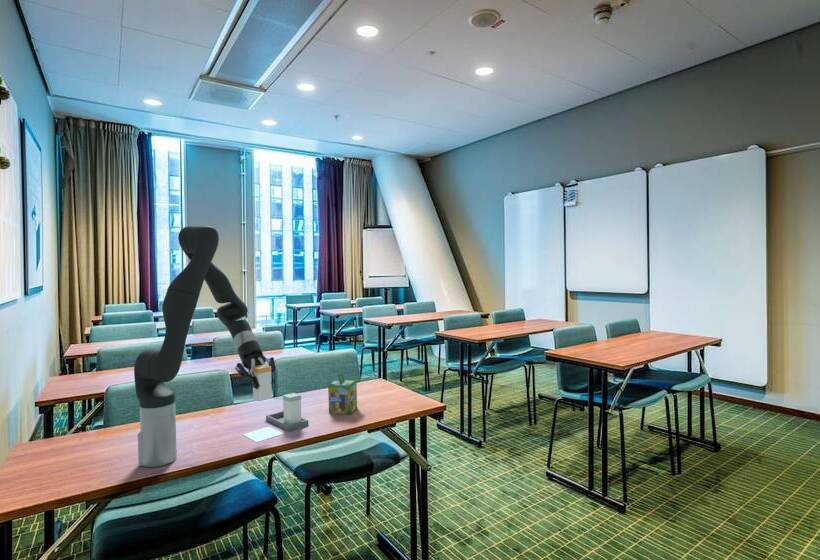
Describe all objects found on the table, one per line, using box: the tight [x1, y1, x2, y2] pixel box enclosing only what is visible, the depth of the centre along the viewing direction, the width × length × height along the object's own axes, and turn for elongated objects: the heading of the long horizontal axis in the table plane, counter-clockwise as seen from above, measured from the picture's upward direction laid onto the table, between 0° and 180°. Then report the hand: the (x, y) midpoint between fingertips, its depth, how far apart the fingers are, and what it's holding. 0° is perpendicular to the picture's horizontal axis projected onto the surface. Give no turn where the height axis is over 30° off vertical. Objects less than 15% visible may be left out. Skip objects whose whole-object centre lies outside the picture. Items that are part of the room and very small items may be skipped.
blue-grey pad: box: [242, 426, 285, 444], centre depth 151 cm, size 10×10×1 cm
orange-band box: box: [252, 364, 273, 402], centre depth 151 cm, size 5×5×11 cm
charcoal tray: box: [265, 410, 309, 432], centre depth 162 cm, size 16×8×2 cm, turn 46°
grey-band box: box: [282, 392, 302, 425], centre depth 159 cm, size 5×5×11 cm
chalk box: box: [327, 372, 358, 415], centre depth 176 cm, size 9×9×15 cm
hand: (265, 385), depth 150 cm, fingers closed on orange-band box, 4 cm apart
